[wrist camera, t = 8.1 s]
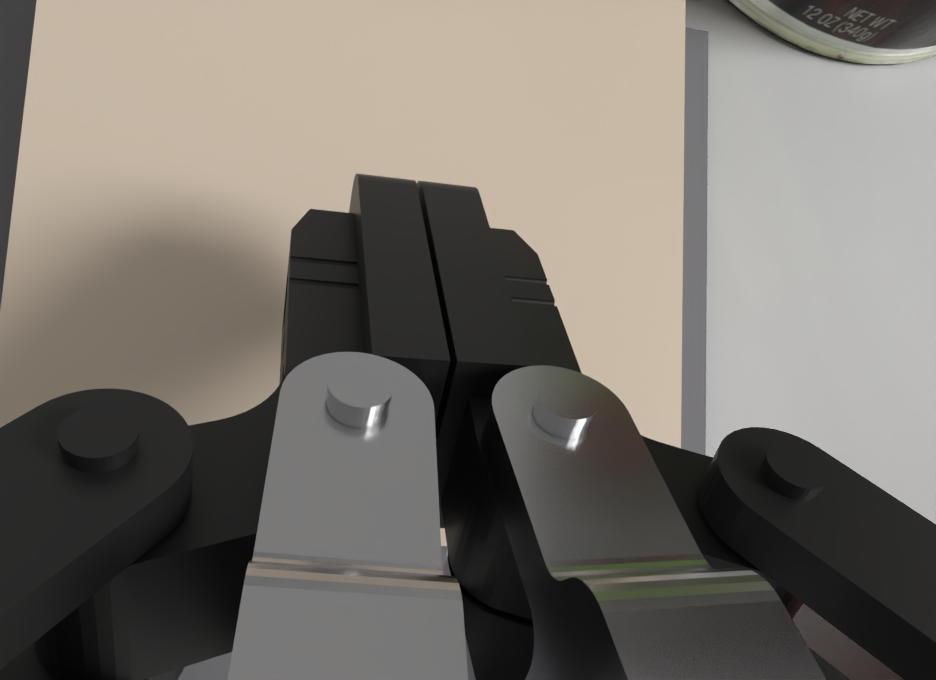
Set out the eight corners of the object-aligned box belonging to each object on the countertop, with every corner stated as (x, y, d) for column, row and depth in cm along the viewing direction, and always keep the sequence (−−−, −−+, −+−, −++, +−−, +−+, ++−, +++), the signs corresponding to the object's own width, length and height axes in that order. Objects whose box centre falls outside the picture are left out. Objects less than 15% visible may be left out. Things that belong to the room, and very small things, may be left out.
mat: (691, 834, 16) (703, 843, 15) (-131, 885, 13) (-143, 899, 12) (698, 40, 18) (707, 32, 17) (-9, -78, 15) (-17, -92, 14)
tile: (680, 551, 14) (686, -153, 15) (-28, 536, 11) (70, -291, 13) (626, 538, 16) (637, -86, 17) (14, 524, 13) (94, -194, 15)
